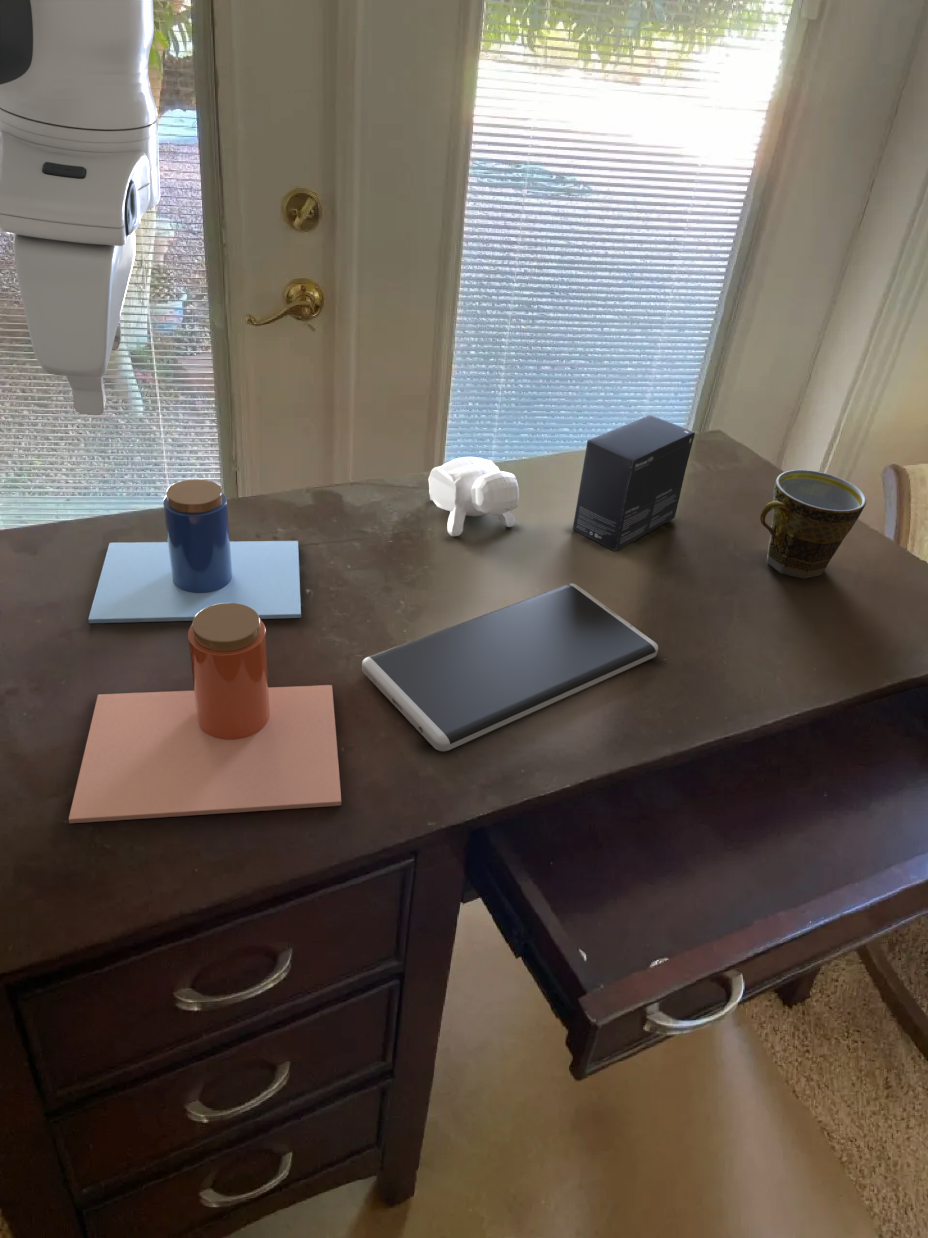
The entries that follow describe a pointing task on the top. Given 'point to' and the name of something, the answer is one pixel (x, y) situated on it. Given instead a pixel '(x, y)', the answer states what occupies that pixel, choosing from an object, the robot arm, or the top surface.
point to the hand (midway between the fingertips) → (99, 375)
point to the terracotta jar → (229, 670)
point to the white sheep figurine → (473, 491)
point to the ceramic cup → (809, 520)
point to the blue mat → (148, 594)
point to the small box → (632, 480)
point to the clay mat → (205, 758)
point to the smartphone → (506, 664)
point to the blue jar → (198, 535)
